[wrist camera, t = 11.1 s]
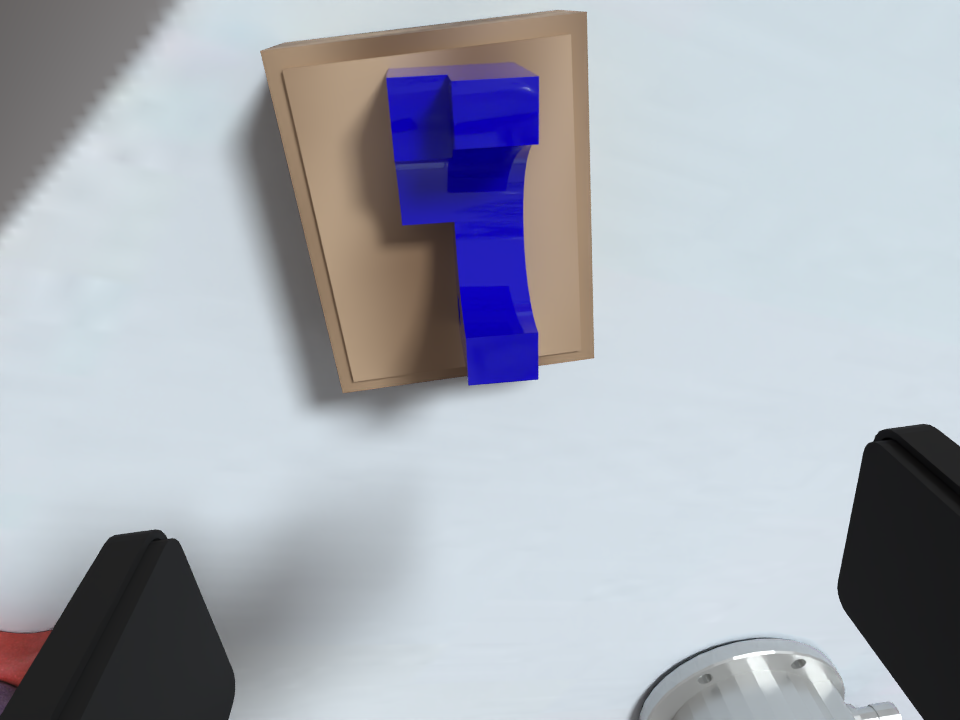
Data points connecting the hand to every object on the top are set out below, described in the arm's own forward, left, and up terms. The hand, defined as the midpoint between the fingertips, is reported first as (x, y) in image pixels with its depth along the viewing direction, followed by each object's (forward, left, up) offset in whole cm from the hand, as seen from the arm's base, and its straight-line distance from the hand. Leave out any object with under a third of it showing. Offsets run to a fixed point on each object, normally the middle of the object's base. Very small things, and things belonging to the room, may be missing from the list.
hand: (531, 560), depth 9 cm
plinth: (0, -1, -18) cm, 18 cm away
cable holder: (0, -1, -14) cm, 14 cm away
